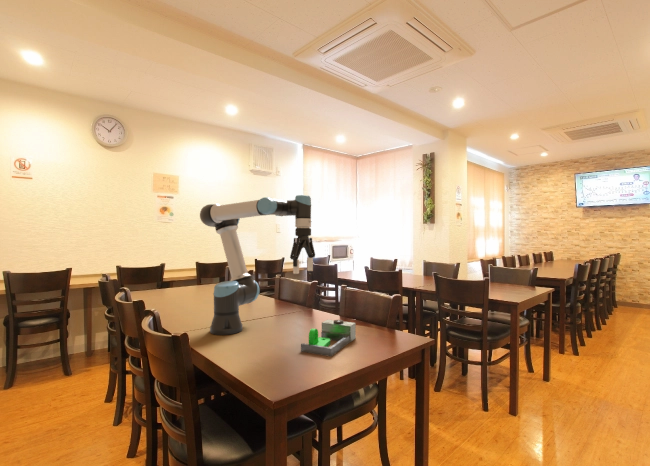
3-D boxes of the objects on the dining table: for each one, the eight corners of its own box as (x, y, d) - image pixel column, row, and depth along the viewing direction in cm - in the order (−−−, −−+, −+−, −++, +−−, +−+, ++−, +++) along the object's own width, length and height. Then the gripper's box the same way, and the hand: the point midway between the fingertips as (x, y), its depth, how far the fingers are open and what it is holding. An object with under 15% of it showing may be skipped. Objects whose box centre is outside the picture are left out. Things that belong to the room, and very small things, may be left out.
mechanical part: (322, 351, 136) (322, 331, 136) (308, 350, 138) (308, 330, 138) (332, 342, 147) (332, 324, 147) (319, 341, 149) (319, 323, 149)
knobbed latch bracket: (300, 351, 136) (300, 331, 136) (327, 334, 159) (327, 317, 159) (332, 356, 130) (332, 336, 130) (355, 338, 153) (355, 321, 153)
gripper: (296, 227, 150) (296, 275, 150) (321, 228, 172) (321, 270, 172) (282, 227, 153) (282, 274, 153) (308, 228, 176) (308, 269, 176)
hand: (303, 272), depth 163 cm, fingers open, 13 cm apart
